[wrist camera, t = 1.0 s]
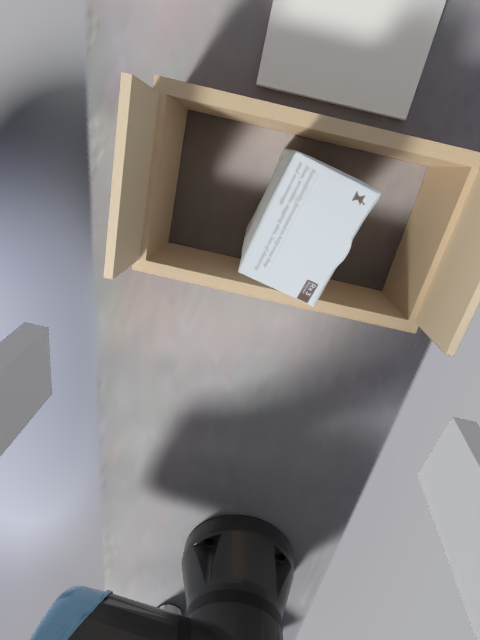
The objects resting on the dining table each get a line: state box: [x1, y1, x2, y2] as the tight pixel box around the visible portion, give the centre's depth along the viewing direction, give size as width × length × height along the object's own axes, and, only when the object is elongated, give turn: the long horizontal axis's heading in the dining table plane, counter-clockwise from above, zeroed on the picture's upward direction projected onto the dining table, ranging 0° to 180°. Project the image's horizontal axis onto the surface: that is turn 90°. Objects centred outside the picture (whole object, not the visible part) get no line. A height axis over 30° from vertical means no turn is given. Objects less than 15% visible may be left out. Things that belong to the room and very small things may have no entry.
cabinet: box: [104, 72, 480, 356], centre depth 31 cm, size 14×24×14 cm, turn 78°
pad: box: [256, 0, 446, 121], centre depth 32 cm, size 10×13×1 cm
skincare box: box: [238, 149, 382, 307], centre depth 30 cm, size 8×6×15 cm
